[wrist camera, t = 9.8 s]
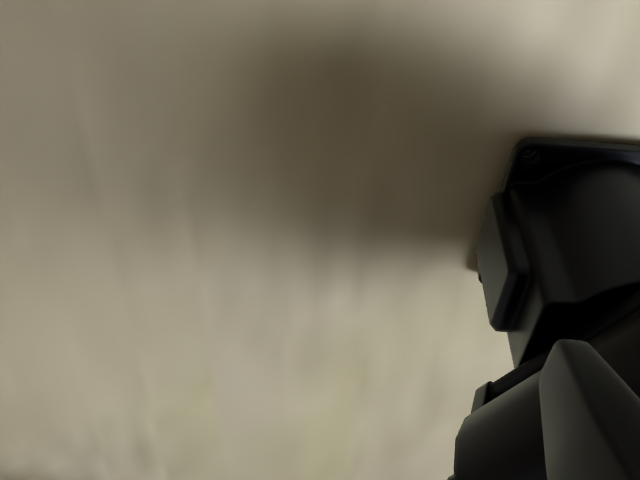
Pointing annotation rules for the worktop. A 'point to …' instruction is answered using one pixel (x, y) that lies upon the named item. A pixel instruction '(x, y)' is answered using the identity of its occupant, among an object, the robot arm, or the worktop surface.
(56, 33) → the worktop surface
